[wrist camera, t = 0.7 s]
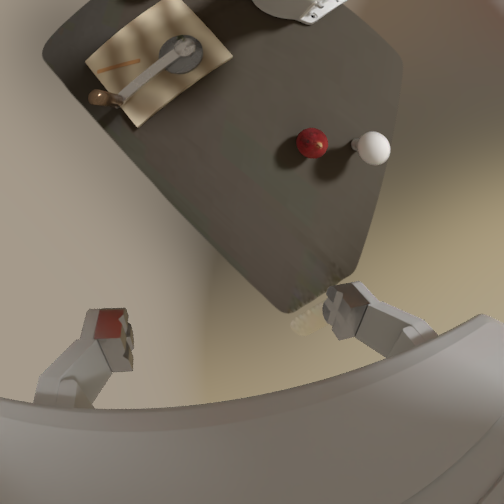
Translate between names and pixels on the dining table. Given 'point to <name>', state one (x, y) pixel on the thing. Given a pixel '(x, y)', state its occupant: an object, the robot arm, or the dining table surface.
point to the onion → (312, 143)
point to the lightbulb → (372, 148)
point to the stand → (154, 57)
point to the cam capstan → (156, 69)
